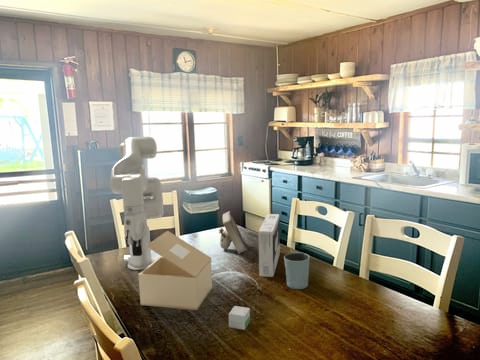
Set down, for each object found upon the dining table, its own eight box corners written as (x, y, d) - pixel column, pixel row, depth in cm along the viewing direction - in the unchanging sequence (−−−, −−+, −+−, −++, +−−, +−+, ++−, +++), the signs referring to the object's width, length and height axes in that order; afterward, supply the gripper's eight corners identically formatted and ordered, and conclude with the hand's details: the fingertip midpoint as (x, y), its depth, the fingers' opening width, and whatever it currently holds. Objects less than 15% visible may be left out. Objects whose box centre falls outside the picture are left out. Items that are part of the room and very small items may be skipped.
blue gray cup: (314, 283, 149) (314, 255, 147) (300, 292, 142) (300, 263, 140) (293, 277, 156) (293, 250, 154) (279, 285, 149) (278, 257, 147)
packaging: (273, 277, 157) (272, 231, 154) (259, 276, 158) (258, 231, 155) (280, 252, 186) (279, 214, 183) (268, 252, 188) (267, 213, 185)
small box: (244, 330, 117) (244, 316, 117) (228, 327, 119) (227, 313, 118) (250, 321, 123) (250, 307, 122) (234, 318, 125) (234, 305, 124)
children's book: (225, 251, 203) (208, 219, 200) (245, 240, 203) (229, 209, 200) (227, 263, 183) (209, 228, 180) (249, 251, 184) (231, 217, 180)
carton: (140, 305, 136) (138, 274, 134) (161, 284, 153) (160, 256, 151) (197, 310, 131) (195, 278, 129) (212, 288, 148) (211, 259, 146)
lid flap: (145, 246, 131) (146, 244, 131) (167, 231, 149) (167, 230, 148) (195, 277, 129) (196, 276, 129) (211, 259, 146) (211, 257, 146)
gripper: (132, 214, 132) (136, 262, 135) (152, 205, 147) (155, 249, 149) (114, 213, 134) (118, 261, 137) (135, 204, 148) (138, 248, 151)
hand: (137, 255), depth 143 cm, fingers closed
